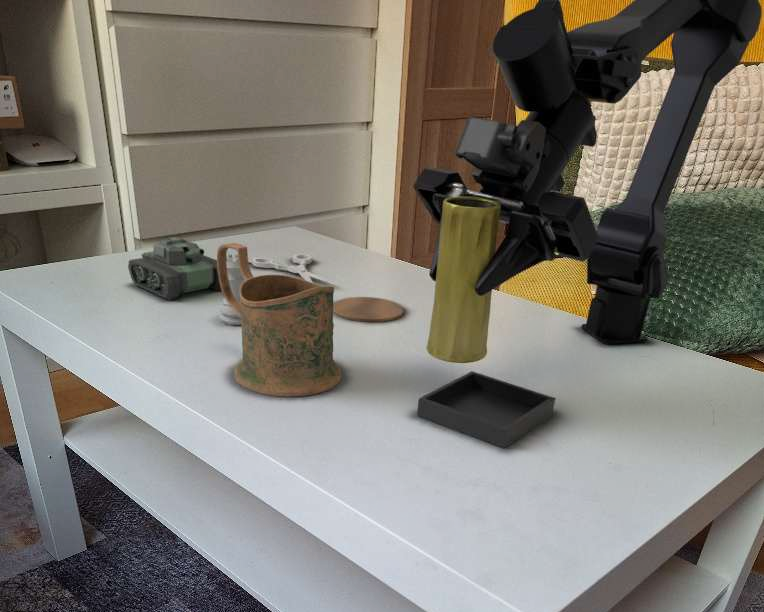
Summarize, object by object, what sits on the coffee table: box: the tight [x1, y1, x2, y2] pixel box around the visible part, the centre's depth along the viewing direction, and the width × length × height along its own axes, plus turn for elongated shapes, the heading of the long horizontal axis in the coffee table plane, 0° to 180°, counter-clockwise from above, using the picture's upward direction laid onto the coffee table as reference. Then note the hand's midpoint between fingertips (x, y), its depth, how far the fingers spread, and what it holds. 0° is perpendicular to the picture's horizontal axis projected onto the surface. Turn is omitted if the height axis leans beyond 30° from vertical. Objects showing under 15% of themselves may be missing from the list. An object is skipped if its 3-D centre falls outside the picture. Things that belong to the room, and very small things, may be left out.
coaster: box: [333, 296, 404, 323], centre depth 101 cm, size 10×10×1 cm
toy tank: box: [127, 236, 222, 301], centre depth 103 cm, size 10×12×7 cm
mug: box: [216, 242, 342, 397], centre depth 79 cm, size 12×18×12 cm, turn 44°
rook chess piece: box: [219, 253, 245, 326], centre depth 92 cm, size 4×4×8 cm
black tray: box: [416, 370, 556, 449], centre depth 74 cm, size 10×10×2 cm
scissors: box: [248, 253, 340, 287], centre depth 113 cm, size 11×1×20 cm
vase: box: [426, 196, 501, 364], centre depth 70 cm, size 6×6×14 cm
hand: (454, 285), depth 70 cm, fingers closed on vase, 5 cm apart
